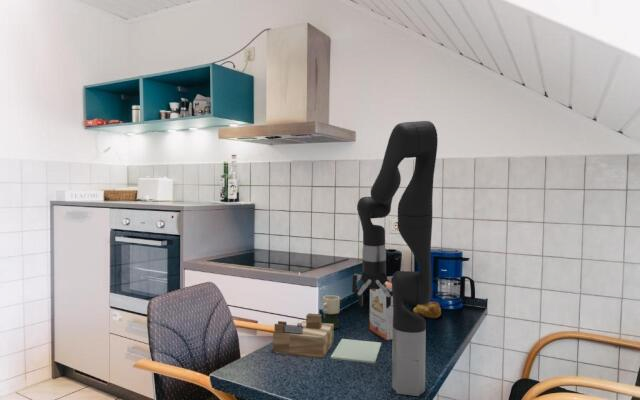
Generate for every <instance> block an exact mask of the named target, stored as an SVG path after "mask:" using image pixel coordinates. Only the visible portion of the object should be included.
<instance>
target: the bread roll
mask: <svg viewBox="0 0 640 400" xmlns="http://www.w3.org/2000/svg"><path fill="white" fill-rule="evenodd" d="M412 312H413V313H415V314H417V315H420V316H422V317H423V318H427V319H438V318H439V317H440V316H441V314H442V309H441V306H440V303H439V302H437V301H430V302H429V303H428V304H427V305H416V306H415V307H414V308H413V310H412Z"/></svg>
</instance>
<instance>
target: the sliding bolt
mask: <svg viewBox="0 0 640 400" xmlns="http://www.w3.org/2000/svg"><path fill="white" fill-rule="evenodd" d="M283 332H290V333H300V334H302V333H303V326H302V322H301V323H300V322H298V323H297V324H296V325H294V324H287V325H285V324H283Z"/></svg>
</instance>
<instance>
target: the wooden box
mask: <svg viewBox="0 0 640 400" xmlns="http://www.w3.org/2000/svg"><path fill="white" fill-rule="evenodd" d="M283 324H285V325H288V324H287V321H281V320H277V323H275V324H274V331H273V333H272V352H273V351H274V352H279V353H286V354H285V355H288V354H291V356H297V355H298V357H306V358H307V357H308V358H317V359H324V357H326V355H327V353H328V352H329V351H330V348H331V347H332V346H333V344H334V339H335V338H334V333H335V331H334V327H333V328H332V330H331V331H330V332H329V334H328V335H327V336H326V337H325V339H324V340H312V339H302V338H292V337H289V334H290V332H283ZM279 353H278V354H279Z"/></svg>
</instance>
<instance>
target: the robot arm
mask: <svg viewBox="0 0 640 400" xmlns="http://www.w3.org/2000/svg"><path fill="white" fill-rule="evenodd" d="M438 138H439V137H438V130H437V128H436V126H435V125H434V123H433V122H432V121H429V120H418V121H417V120H416V121H404V122H400V123H398V124H396V125H395V126H394V127H393V129H392V130H391V133H390V135H389V138H388V141H387V145H386V147H385V148H386V149H385V152H384V157H383V160H382V163H381V166H380V167H381V168H380V171H379V173H378V175H377V177H376V179H375V180H374V183H373V185H372V186H371V188H370V196H363V197H361V198H360V199H359V200H358V202H357V203H356V210H357V213H358V214H357V215H358V218H359V220H360V224H361V225H360V226H361V229H362V243H363V244H362V253H361V254H362V258H361V259H362V274H358V273H357V272H355V273H354V274H353V276H352V287H351V289H352V290H351V292H352V293H353V294H356V295H357V304H358V305H359V306H360V307H363V305H364V291H366V289H369V290H370V289H380V288H381V290H382V291H383V292H384V293H385V294H386V295H387V296H386V308H389V306H390V305H391V296H393V340H392V348H391V349H392V355H391V357H392V359H391V361H392V362H391V363H392V365H391V367H392V369H391V375H392V376H391V380H392V381H391V387H392V389H393V390H394V391H395V392H396V394H397V395H398V394H399V395H406V396H415V397H420V395H422V394H423V393H425V391H426V345H427V344H426V343H427V342H426V338H427V335H426V333H427V332H426V330H427V327H426V326H427V321H426V319H425V317H423V316H420V315H417V314H415V313H414V312H413V311H411V310H409V309H408V308H407V307H406V306H405V305H416V306H417V305H427V304H428V303H429V302H431V300H432V289H433V288H432V287H433V286H432V285H433V284H432V260H431V258H432V257H431V255H432V254H431V252H432V251H431V249H432V234H433V232H432V231H433V192H434V175H435V169H436V160H437V152H438ZM412 158H415V159H414V160H415V162H414V170H413V172H412V176H411V179H410V181H409V183H408V184H407V186H406V187H405V188H404V189H405V190H404V191H403V194H402V195H401V196H400V197H401V198H399V202H398V205H397V229H398V232H399V234H400V236H401V238H402V239H403V241H404V242H405V243H406V245H407V246H408V248H409V249H410V251H411V252H412V255H413V257H414V259H415V260H416V263H417V264H418V268H419V271H412V270H411V271H408V270H397V271H395V272H394V273H393V275H391V276H388V275H387V249H386V230H385V227H384V226H382V225H379V224H374V223H373V222H372V219H383V218H386V217H387V216H389V215H390V213H391V211H392V210H391V209H392V202H393V199H394V196H395V195H396V193H397V192H398V189H399V188H400V186H401V181H402V177H401V172H400V169H399V165H400V164H401V163H402V162H403V160H404V159H412ZM360 279H361V281H362V282H363V284H362V286H361V287H360V288H358V282H359V281H360ZM386 281H387V282H390V283H392V291H390V290H389V289H388V287H387V286H386V284H385V282H386Z"/></svg>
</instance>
